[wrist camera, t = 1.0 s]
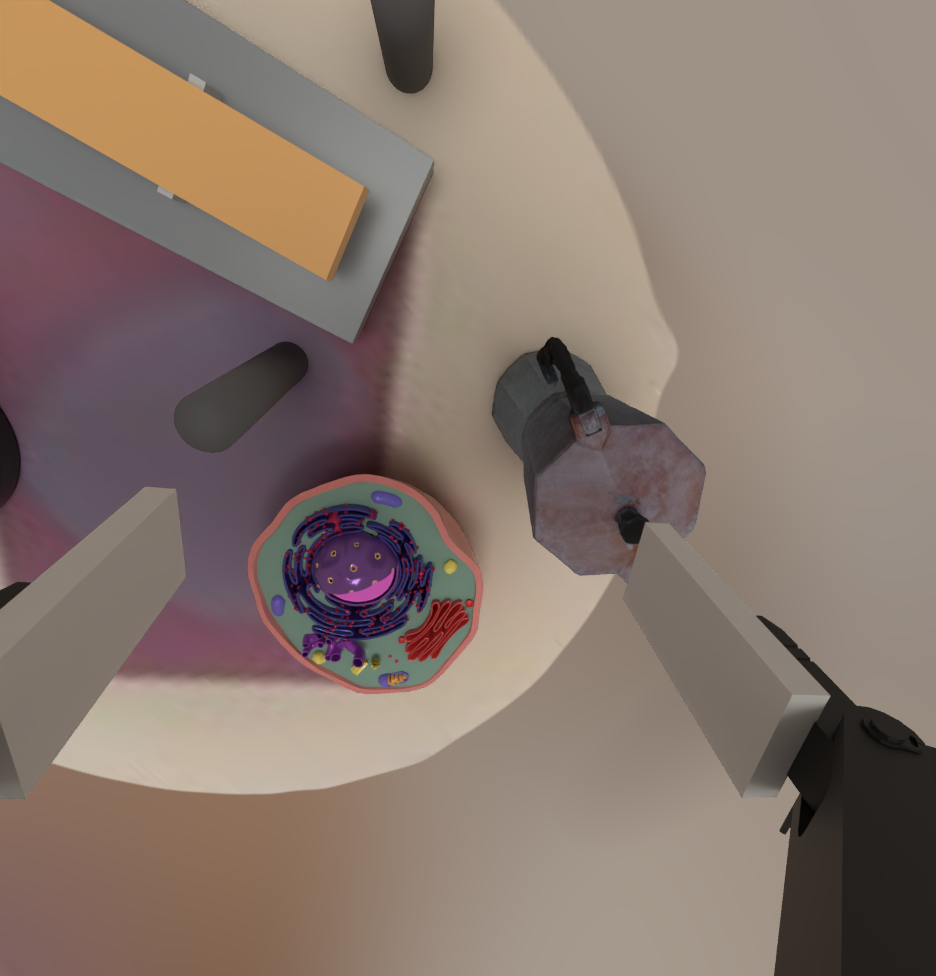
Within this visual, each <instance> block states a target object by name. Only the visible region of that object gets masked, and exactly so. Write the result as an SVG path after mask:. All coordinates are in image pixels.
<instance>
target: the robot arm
mask: <svg viewBox="0 0 936 976" xmlns="http://www.w3.org/2000/svg"><path fill="white" fill-rule="evenodd" d="M18 474H19V454H18V449H17V444H16V441H15V438H14V435H13V432H12V430H11V428H10V426H9V424H8V422H7V420H6V418H5V417H4V415H3V413H2V412H1V410H0V507H1V506H2V505H3V504H4V503H5V502H6V501H7V500H8V498H9V497H10V495H11V494H12V492H13V490H14V488H15V485H16V482H17V479H18ZM185 578H186V571H185V562H184V553H183V544H182V536H181V527H180V518H179V509H178V500H177V492H176V489H170V488H156V487H144V488H143V489H142V490H141V491H140V492H138V493H137V494H136V495H135V496H134V497H133V498H131V499H130V500H129V501H128V502H127V503H125V504H124V505H123V506H122V507H121V508H120V509H118V510H117V511H116V512H115V513H114V514H112V515H111V516H110V517H109V518H108V519H107V520H105V521H104V522H103V523H102V524H101V525H99V526H98V527H97V528H96V529H95V530H94V531H92V532H91V533H90V534H89V535H88V536H86V537H85V538H84V539H83V540H82V541H81V542H79V543H78V544H77V545H76V546H75V547H73V548H72V549H71V550H70V551H69V552H68V553H66V554H65V555H64V556H63V557H62V558H60V559H59V560H58V561H57V562H56V563H55V564H53V565H52V566H51V567H50V568H49V569H47V570H46V571H45V572H44V573H43V574H42V575H40V576H39V577H38V578H37V579H36V580H34V581H33V582H32V583H27V582H17V583H14V584H12V585H10V586H8V587H6V588H4V589H2V590H0V799H25V798H26V797H27V796H28V795H29V793H30V792H31V791H32V789H33V788H34V786H35V785H36V784H37V782H38V781H39V780H40V778H41V777H42V775H43V774H44V773H45V771H46V770H47V769H48V767H49V766H50V764H51V763H52V762H53V760H54V759H55V757H56V756H57V755H58V753H59V752H60V751H61V749H62V748H63V746H64V745H65V744H66V742H67V741H68V739H69V738H70V737H71V735H72V734H73V733H74V731H75V730H76V728H77V727H78V726H79V724H80V723H81V722H82V720H83V719H84V717H85V716H86V715H87V713H88V712H89V710H90V709H91V708H92V706H93V705H94V704H95V702H96V701H97V699H98V698H99V697H100V695H101V694H102V692H103V691H104V690H105V688H106V687H107V686H108V684H109V683H110V681H111V680H112V679H113V677H114V676H115V674H116V673H117V672H118V670H119V669H120V668H121V666H122V665H123V663H124V662H125V661H126V659H127V658H128V657H129V655H130V654H131V652H132V651H133V650H134V648H135V647H136V645H137V644H138V643H139V641H140V640H141V639H142V637H143V636H144V634H145V633H146V632H147V630H148V629H149V627H150V626H151V625H152V623H153V622H154V621H155V619H156V618H157V616H158V615H159V614H160V612H161V611H162V609H163V608H164V607H165V605H166V604H167V603H168V601H169V600H170V598H171V597H172V596H173V594H174V593H175V591H176V590H177V589H178V587H179V586H180V585H181V583H182V582H183V580H184V579H185ZM623 599H624V601H625V603H626V605H627V606H628V608H629V609H630V611H631V613H632V614H633V616H634V618H635V620H636V621H637V623H638V625H639V626H640V628H641V630H642V631H643V633H644V635H645V636H646V638H647V640H648V641H649V643H650V645H651V646H652V648H653V650H654V651H655V653H656V655H657V656H658V658H659V660H660V661H661V663H662V665H663V667H664V668H665V670H666V672H667V673H668V675H669V676H670V678H671V680H672V681H673V683H674V685H675V687H676V688H677V690H678V692H679V693H680V695H681V697H682V698H683V700H684V702H685V703H686V705H687V707H688V708H689V710H690V712H691V713H692V715H693V717H694V718H695V720H696V722H697V724H698V725H699V727H700V728H701V730H702V732H703V734H704V735H705V737H706V739H707V740H708V742H709V744H710V745H711V746H712V749H713V750H714V752H715V754H716V755H717V757H718V758H719V760H720V762H721V764H722V765H723V767H724V768H725V770H726V772H727V774H728V775H729V777H730V779H731V780H732V782H733V784H734V785H735V787H736V789H737V791H738V792H739V794H740V796H741V797H777V795H778V793H779V791H780V790H781V788H782V786H783V784H784V782H785V780H786V778H787V776H788V777H789V778H790V780H791V781H792V782H793V784H794V785H795V787H796V788H797V789H798V791H799V792H800V794H799V796H798V798H797V799H796V801H795V803H794V805H793V807H792V808H791V810H790V812H789V814H788V816H787V817H786V819H785V821H784V823H783V825H782V827H781V829H780V832H781V833H783V834H786V833H787V831H788V829H789V828H791V831H790V839H789V848H788V857H787V865H786V875H785V884H784V893H783V901H782V910H781V920H780V928H779V936H778V937H779V938H778V945H777V955H776V963H775V973H774V976H936V748H934V747H930V746H926V745H925V743H924V742H923V741H922V740H921V739H920V738H919V737H918V736H917V735H916V733H915V732H914V731H912V730H911V729H910V728H908V727H907V726H906V725H904V724H903V723H902V722H900V721H899V720H896V719H895V718H893V717H891V716H889V715H887V714H885V713H883V712H881V711H878V710H875V709H872V708H869V707H862V706H856V705H855V704H854V703H853V702H852V701H851V700H850V699H849V698H848V697H847V696H846V695H845V694H844V693H843V691H842V690H841V689H839V687H838V686H837V685H836V684H835V683H834V682H833V681H832V680H831V679H830V678H829V677H828V676H827V675H826V674H825V673H824V672H823V671H822V670H821V669H820V668H819V667H818V666H817V665H816V664H815V663H814V662H811V661H810V658H809V657H808V656H807V655H806V653H805V652H804V651H803V650H802V649H798V646H797V644H796V643H795V642H794V641H793V640H792V639H791V638H790V637H789V636H788V635H787V634H786V633H785V632H784V631H783V630H782V629H781V628H779V627H778V626H776V625H775V624H773V623H772V622H770V621H768V620H767V619H766V618H764V617H763V616H755V615H754V614H753V612H751V611H750V609H749V608H748V607H747V606H746V605H745V604H744V603H743V602H742V601H741V600H740V599H739V598H738V597H737V596H736V594H735V593H734V592H733V591H732V590H731V589H730V588H729V587H728V586H727V585H726V584H725V583H724V582H723V580H722V579H721V578H720V577H719V576H718V575H717V574H716V573H715V572H714V571H713V570H712V569H711V568H710V567H709V565H707V563H706V562H705V561H704V560H703V559H702V558H701V557H700V556H699V555H698V554H697V553H696V552H695V551H694V549H693V548H692V547H691V546H690V545H689V544H688V543H687V542H686V541H685V540H684V539H683V538H682V537H681V536H680V535H679V533H678V532H677V531H676V530H675V529H674V528H673V527H672V526H671V525H670V524H663V523H649V522H645V525H644V529H643V532H642V535H641V539H640V542H639V546H638V549H637V553H636V556H635V559H634V563H633V566H632V570H631V573H630V577H629V580H628V583H627V587H626V590H625V594H624V597H623Z"/></svg>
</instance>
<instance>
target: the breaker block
mask: <svg viewBox="0 0 936 976" xmlns="http://www.w3.org/2000/svg"><path fill="white" fill-rule="evenodd" d="M50 1H51V2H53V3H55V4H56V5H58V6H60V7H61V8H63V9H65V10H67V11H68V12H70V13H72V14H73V15H75V16H77V17H78V18H80V19H82V20H83V21H85V22H87V23H89V24H90V25H92V26H94V27H95V28H97V29H99V30H100V31H102V32H104V33H105V34H107V35H109V36H111V37H112V38H114V39H116V40H117V41H119V42H121V43H122V44H124V45H126V46H127V47H129V48H131V49H133V50H134V51H136V52H138V53H139V54H141V55H143V56H144V57H146V58H148V59H150V60H151V61H153V62H155V63H156V64H158V65H160V66H161V67H163V68H165V69H166V70H168V71H170V72H172V73H173V74H175V75H177V76H178V77H180V78H182V79H183V80H185V81H187V82H188V83H190V84H192V85H194V86H195V87H197V88H199V89H200V90H202V91H204V92H205V93H207V94H209V95H210V96H212V97H214V98H216V99H217V100H219V101H221V102H222V103H224V104H226V105H227V106H229V107H231V108H232V109H234V110H236V111H238V112H239V113H241V114H243V115H244V116H246V117H248V118H249V119H251V120H253V121H254V122H256V123H258V124H260V125H261V126H263V127H265V128H266V129H268V130H270V131H271V132H273V133H275V134H276V135H278V136H280V137H282V138H283V139H285V140H287V141H288V142H290V143H292V144H293V145H295V146H297V147H298V148H300V149H302V150H304V151H305V152H307V153H309V154H310V155H312V156H314V157H315V158H317V159H319V160H321V161H322V162H324V163H326V164H327V165H329V166H331V167H332V168H334V169H336V170H337V171H339V172H341V173H343V174H344V175H346V176H348V177H349V178H351V179H353V180H354V181H356V182H358V183H359V184H361V185H363V186H364V187H366V188H367V189H368V190H369V193H368V195H367V198H366V200H365V202H364V205H363V207H362V210H361V212H360V215H359V217H358V219H357V222H356V224H355V227H354V229H353V232H352V234H351V236H350V239H349V241H348V244H347V246H346V248H345V251H344V253H343V256H342V258H341V261H340V263H339V265H338V268H337V270H336V273H335V275H334V278H333V280H332V281H328V280H325V279H323V278H321V277H319V276H318V275H316V274H314V273H312V272H311V271H309V270H307V269H305V268H304V267H302V266H300V265H298V264H297V263H295V262H293V261H291V260H289V259H288V258H286V257H284V256H282V255H281V254H279V253H277V252H275V251H274V250H272V249H270V248H268V247H267V246H265V245H263V244H261V243H260V242H258V241H256V240H254V239H252V238H251V237H249V236H247V235H245V234H244V233H242V232H240V231H238V230H237V229H235V228H233V227H231V226H230V225H228V224H226V223H224V222H223V221H221V220H219V219H217V218H216V217H214V216H212V215H210V214H208V213H207V212H205V211H203V210H201V209H200V208H198V207H196V206H194V205H193V204H191V203H189V202H187V201H186V200H184V199H182V198H180V197H179V196H177V195H175V194H173V193H171V192H170V191H168V190H166V189H164V188H163V187H161V186H159V185H157V184H156V183H154V182H152V181H150V180H149V179H147V178H145V177H143V176H142V175H140V174H138V173H136V172H135V171H133V170H131V169H129V168H127V167H126V166H124V165H122V164H120V163H119V162H117V161H115V160H113V159H112V158H110V157H108V156H106V155H105V154H103V153H101V152H99V151H98V150H96V149H94V148H92V147H90V146H89V145H87V144H85V143H83V142H82V141H80V140H78V139H76V138H75V137H73V136H71V135H69V134H68V133H66V132H64V131H62V130H61V129H59V128H57V127H55V126H54V125H52V124H50V123H48V122H46V121H45V120H43V119H41V118H39V117H38V116H36V115H34V114H32V113H31V112H29V111H27V110H25V109H24V108H22V107H20V106H18V105H17V104H15V103H13V102H11V101H9V100H8V99H6V98H4V97H2V96H1V95H0V163H2V164H4V165H6V166H8V167H10V168H12V169H14V170H16V171H18V172H20V173H22V174H24V175H26V176H28V177H30V178H31V179H33V180H35V181H37V182H39V183H41V184H43V185H45V186H47V187H49V188H51V189H53V190H55V191H57V192H59V193H61V194H62V195H64V196H66V197H68V198H70V199H72V200H74V201H76V202H78V203H80V204H82V205H84V206H86V207H88V208H90V209H92V210H94V211H95V212H97V213H99V214H101V215H103V216H105V217H107V218H109V219H111V220H113V221H115V222H117V223H119V224H121V225H123V226H125V227H126V228H128V229H130V230H132V231H134V232H136V233H138V234H140V235H142V236H144V237H146V238H148V239H150V240H152V241H154V242H156V243H158V244H159V245H161V246H163V247H165V248H167V249H169V250H171V251H173V252H175V253H177V254H179V255H181V256H183V257H185V258H187V259H189V260H190V261H192V262H194V263H196V264H198V265H200V266H202V267H204V268H206V269H208V270H210V271H212V272H214V273H216V274H218V275H220V276H221V277H223V278H225V279H227V280H229V281H231V282H233V283H235V284H237V285H239V286H241V287H243V288H245V289H247V290H249V291H251V292H253V293H254V294H256V295H258V296H260V297H262V298H264V299H266V300H268V301H270V302H272V303H274V304H276V305H278V306H280V307H282V308H284V309H285V310H287V311H289V312H291V313H293V314H295V315H297V316H299V317H301V318H303V319H305V320H307V321H309V322H311V323H313V324H315V325H317V326H318V327H320V328H322V329H324V330H326V331H328V332H330V333H332V334H334V335H336V336H338V337H340V338H342V339H344V340H346V341H348V342H349V343H351V344H352V343H353V342H354V341H355V340H356V339H357V338H358V336H359V335H360V334H361V332H362V330H363V328H364V326H365V323H366V321H367V319H368V317H369V314H370V312H371V310H372V308H373V305H374V303H375V301H376V299H377V296H378V294H379V292H380V290H381V288H382V285H383V283H384V281H385V279H386V276H387V274H388V272H389V270H390V267H391V265H392V263H393V261H394V258H395V256H396V254H397V252H398V250H399V247H400V245H401V243H402V241H403V238H404V236H405V234H406V232H407V229H408V227H409V225H410V223H411V221H412V218H413V216H414V214H415V212H416V209H417V207H418V205H419V203H420V200H421V198H422V196H423V194H424V191H425V189H426V187H427V185H428V183H429V180H430V178H431V176H432V174H433V166H434V159H432V158H431V157H429V156H428V155H426V154H424V153H423V152H421V151H420V150H418V149H417V148H415V147H413V146H412V145H410V144H409V143H407V142H406V141H404V140H403V139H401V138H399V137H398V136H396V135H395V134H393V133H392V132H390V131H388V130H387V129H385V128H384V127H382V126H381V125H379V124H378V123H376V122H374V121H373V120H371V119H370V118H368V117H367V116H365V115H363V114H362V113H360V112H359V111H357V110H356V109H354V108H353V107H351V106H349V105H348V104H346V103H345V102H343V101H342V100H340V99H338V98H337V97H335V96H334V95H332V94H331V93H329V92H327V91H326V90H324V89H323V88H321V87H320V86H318V85H317V84H315V83H313V82H312V81H310V80H309V79H307V78H306V77H304V76H302V75H301V74H299V73H298V72H296V71H295V70H293V69H292V68H290V67H288V66H287V65H285V64H284V63H282V62H281V61H279V60H277V59H276V58H274V57H273V56H271V55H270V54H268V53H267V52H265V51H263V50H262V49H260V48H259V47H257V46H256V45H254V44H252V43H251V42H249V41H248V40H246V39H245V38H243V37H242V36H240V35H238V34H237V33H235V32H234V31H232V30H231V29H229V28H227V27H226V26H224V25H223V24H221V23H220V22H218V21H217V20H215V19H213V18H212V17H210V16H209V15H207V14H206V13H204V12H202V11H201V10H199V9H198V8H196V7H195V6H193V5H192V4H190V3H188V2H187V1H185V0H50Z"/></svg>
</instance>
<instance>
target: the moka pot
mask: <svg viewBox="0 0 936 976" xmlns="http://www.w3.org/2000/svg"><path fill="white" fill-rule="evenodd" d="M492 415H493V418H494V420H495V422H496V424H497V426H498V428H499V430H500V431H501V433H502V435H503V437H504V439H505V441H506V442H507V444H508V445H509V446H510V447H511V448H512V449H513V451H514V452H515V453H516V454H517V455H518V456H519V458H520V459H521V460H522V461H523V462H524V482H525V487H526V494H527V500H528V506H529V513H530V520H531V526H532V532H533V538H534V539H535V540H536V541H537V542H539V543H540V544H541V545H542V546H543V547H545V548H546V549H547V550H548V551H550V552H551V553H552V554H553V555H555V556H556V557H557V558H558V559H559V560H561V561H562V562H563V563H564V564H565V565H567V566H568V567H569V568H570V569H571V570H572V571H573V572H574V573H576V574H578V575H600V574H618V575H619V576H620V577H621V578H622V579H624V581H625V582H626V583H628V580H629V577H630V573H631V570H632V566H633V563H634V559H635V556H636V553H637V549H638V546H639V542H640V539H641V535H642V532H643V529H644V525H645V522H649V523H663V524H670V525H671V526H672V527H673V528H674V529H675V530H676V531H677V532H678V533H679V535H680V536H681V537H682V538H683V539H684V538H685V537H686V536H687V535H688V534H689V533H690V532H692V531H693V529H694V527H695V524H696V520H697V515H698V510H699V505H700V499H701V495H702V490H703V485H704V480H705V475H706V471H705V466H704V464H703V463H702V462H701V461H700V460H699V459H698V458H697V457H696V456H695V455H694V454H693V453H692V452H691V451H690V450H689V449H688V448H687V447H686V445H685V444H684V443H683V442H681V440H679V438H678V437H677V436H676V435H675V434H674V433H673V432H672V431H671V429H670V428H669V427H668V426H667V425H666V424H665V423H663V422H661V421H659V420H657V419H655V418H653V417H651V416H649V415H647V414H645V413H643V412H641V411H639V410H637V409H635V408H633V407H631V406H628V405H627V404H625V403H623V402H621V401H619V400H617V399H615V398H613V397H611V396H609V395H607V394H606V392H605V390H604V389H603V387H602V385H601V383H600V382H599V380H598V378H597V376H596V374H595V372H594V371H593V369H592V367H591V365H589V364H588V363H587V362H585V361H583V360H582V359H580V358H578V357H577V356H575V355H572V354H570V353H569V351H568V350H567V347H566V346H565V345H564V344H563V342H562V341H561V340H560V339H558V338H554V337H551V338H550V339H548V340H547V342H546V344H545V346H544V347H542V348H541V349H540V351H538V352H533V353H526V354H524V355H523V356H522V357H521V358H519V359H518V360H517V361H516V362H515V363H514V364H513V365H512V366H510V368H509V369H508V370H507V371H506V372H505V373H504V375H503V376H502V377H501V379H500V380H499V382H498V384H497V387H496V392H495V397H494V403H493V411H492Z"/></svg>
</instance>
